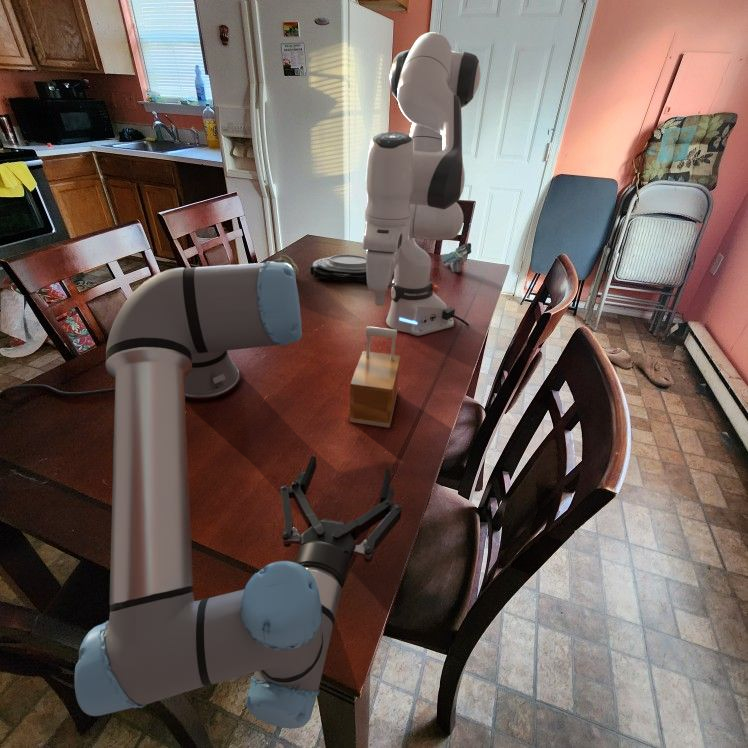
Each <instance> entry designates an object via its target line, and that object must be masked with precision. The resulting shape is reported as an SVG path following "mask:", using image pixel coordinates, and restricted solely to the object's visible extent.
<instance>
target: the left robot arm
mask: <svg viewBox="0 0 748 748" xmlns="http://www.w3.org/2000/svg"><path fill="white" fill-rule="evenodd" d="M273 261H274V260H269V261H266V262H256V263H255V262H254V263H240V264H226V265H210V266H209V265H208V266H195V267H175V268H170V269H166V270H164V271H162V272H161V271H160V272H159V273H157V274H154V275H152V276H151V277H150V278H148V279H147V280H145V281H144V282H143V283H142V284H140V285H139V286H138V287H137V288H136V289H135V290H133V292H132V293H131V294H130V295H129V297H128V298H127V299H126V300H125V302H124V303H123V305H122V306H121V308H120V309H119V311H118V312H117V315H116V316H115V318H114V320H113V323H112V325H111V328H110V331H109V333H108V334H109V335H108V337H107V342H106V349H105V370H106V371H107V373H108V374H109V375H110V376H112V377H113V378H114V381H115V382H114V387H113V388H105V389H98V390H91V391H90V390H89V391H78V392H77V391H76V392H74V391H73V392H69V391H63V390H59V389H57V388H55V387H54V386H51V385H47V384H38V383H37V384H36V383H35V384H18V385H12V386H8V387H6V388H4V389H3V390H1V391H0V397H2V396H4V395H5V394H6V393H7V392H10V391H13V390H18V389H29V388H30V389H31V388H34V389H35V388H36V389H37V388H39V389H40V388H41V389H47V390H50V391H51V392H54V393H56V394H59V395H61V396H70V397H71V396H72V397H73V396H75V397H76V396H87V395H88V396H89V395H96V394H97V395H98V394H104V393H111V392H112V393H113V392H114V416H113V420H114V421H113V451H112V452H113V453H112V457H113V458H112V489H111V490H112V495H111V496H112V497H111V531H110V532H111V533H110V534H111V535H110V567H109V569H110V570H109V571H110V572H109V573H110V574H109V617H108V618H109V619H108V620H106V621H105V622H103V623H101V624H98V625H96V626H94V627H92V628H91V630H89V631H88V633H87V634H86V635H85V636H84V638H83V640H82V642H81V644H80V647H79V650H78V661H77V663H76V664H75V668H74V690H75V699H76V701H77V703H78V706H79V708H80V710H81V711H82V712H83V713H85V714H86V715H88V716H91V717H99V716H105V715H108V714H112V713H116V712H120V711H125V710H129V709H137V708H139V709H142V708H145V707H146V706H147V705H149V704H152V703H155V702H158V701H163V700H165V699H168V698H173V697H174V696H178V695H181V694H185V693H188V692H191V691H194V690H197V689H201V688H205V687H206V686H207V687H208V686H210V685H216V684H219V683H223V682H227V681H230V680H233V679H236V678H240V677H243V676H247V675H250V674H253V675H252V676H251V677H250V685H249V688H248V691H247V695H246V698H245V705H246V709H247V711H248V713H250V715H252V717H254V718H256V719H257V720H259V721H261V722H263V723H265V724H268V725H271V726H274V727H278V728H282V729H290V730H291V729H292V730H295V729H300V728H302V727H305V726H306V725H307V724H308V723H309V722H310V720H311V717H312V715H313V712H314V708H315V704H316V700H317V697H318V696H319V695H320V691H321V690H320V684H321V681H322V676H323V672H324V668H325V663H326V659H327V655H328V650H329V646H330V643H331V637H332V633H333V629H334V626H335V623H336V618H337V614H338V611H339V606H340V603H341V602H340V601H341V597H342V594H343V587H344V585H345V582H346V577H347V573H348V570H349V565H350V561H351V559H352V558H353V556H354V555H355V556H358V557H360V558H361V557H362V558H363V560H364V562H365V563H371V562H372V560H373V558H374V554H375V552H376V549H377V548H378V547H379V546H380V545H381V543H382V542H383V541H384V539H386V537H387V536H388V535H389V534H390V532H392V530H393V528H394V527H395V526H396V525H397V524H398V523H399V521H400V520H401V519H402V513H403V506H402V505H401V504H395V503H394V502H393V499H394V494H395V493H394V492H395V488H394V486H390V480H391V468H389V467H386V468H385V473H384V478H383V483H382V488H381V493H380V497H379V504H377V505H375V506H374V507H373V508H370V510H368V511H366V513H364V514H362V515H361V516H360V517H358V518H356V519H351V521H349V522H347V523H346V524H345V523H344V521H341V520H332V519H329V518H325V517H324V518H323V519H321V520H320V519H319V518H318V517H317V516H318V515H317V514H316V513H315V512H314V510H313V509H312V507H311V505H310V503H309V501H308V499H307V498H306V495H307V493H308V490H309V487H310V485H311V482H312V479H313V477H314V476H315V475H314V474H315V472H316V470H317V456H314V455H311V457H310V459H309V462H308V464H307V466H306V469H305V471H300V472H299V473H298V475H297V477H296V479H295V480H294V481H292V482H291V486H287V485H282V486H280V497H281V504H282V512H283V513H282V514H283V521H284V525H283V530H282V533H281V535H282V543H283V546H284V547H285V548H289V547H291V546H292V545H300V546H299V548H298V552H297V554H296V556H295V560H294V561H291V560H278V561H274V562H271V563H268V564H267V565H265V566H264V567H263V568H261V569H260V570H258V571H257V572H255V573H254V574H253V575H252V576H251V578H249V580H248V581H247V583H246V585H245V587H244V588H243V589H240V590H235V591H231V592H228V593H224V594H220V595H216V596H212V597H207V598H202V599H199V600H195V597H194V570H193V548H192V547H193V546H192V526H191V523H192V521H191V504H190V503H191V500H190V481H189V480H190V479H189V477H190V476H189V458H188V457H189V456H188V437H187V436H188V435H187V432H188V431H187V411H186V400H188V401H191V402H209V401H213V400H218V399H220V398H223V397H226V396H228V395H229V394H231V393H232V392H233V391H235V390H236V388H237V387H238V386H239V384H240V383H241V376H240V375H241V374H240V371H239V369H238V367H237V365H236V364H235V362H234V360H233V359H232V358H231V356H230V355H229V352H228V351H236V350H245V349H253V348H263V347H271V346H279V347H286V346H287V345H289V344H296V343H298V342H299V341H301V339H302V337H303V328H302V313H301V305H300V297H299V290H298V289H299V288H298V284H297V278H296V277H295V272H294V269H293V267H292V266H291V265H290V264H288V263H277V262H273ZM21 385H22V386H21ZM14 388H16V389H14ZM290 499H293V500H294V502H295V504H296V506H297V508H298V510H299V513H300V514H301V516H302V518H303V520H304V522H305V524H306V526H307V529H306V530H304V531H303V532H302V533H301V534H299V531H298V529H297V528H296V527H295V526H294V519H293V513H292V507H291V501H290ZM379 522H380V523H379ZM378 523H379V524H378ZM376 524H378V525H377V526H376V527H375V528H374V530H373V531H372V532H371V533H370V534H369V536H368V538H367V539H364V540H363V541H362V542H361V543H360V544H356V540H358V539H359V537H360V536H361V535H362V534H363V533H365V532H366V531H368V530H369V529H370V528H372V527H374V526H375V525H376Z"/></svg>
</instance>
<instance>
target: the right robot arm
mask: <svg viewBox="0 0 748 748" xmlns="http://www.w3.org/2000/svg"><path fill="white" fill-rule="evenodd" d="M389 72H390V73H389V84H390V89H391V93H392V95H393V97H394V98H395V99H396V100H397V103H398V107H399V109H400V111H401V112H402V114H403V115H404V117H405V118H406V119H407V120H408V121H409V122H411V127H410V133H409V134H407V133H405V132H399V131H386V132H381V133H378V134H376V135H374V136H373V137H372V138H371V140H370V145H369V149H368V155H367V161H366V162H367V163H366V172H365V173H366V174H365V175H366V176H365V190H366V196H367V203H366V206H365V210H364V235H363V240H362V248H363V249H364V250H366V252H365V257H366V273H367V282H366V285H367V288H368V289H367V290H368V291H370V292H374V297H375V300H374V304H375V305H376V306H381V307H383V306H384V305H385V303H386V293H387V291H388V289H389V288H391V289H390V292H391V293H390V294H391V295H390V297H391V301H390V307H389V310H388V314H387V316H386V318H385V323H386V324H387V326H388V327H389V328H390V329H394V330H397V332H402V333H408V334H411V335H413V336H417V337H420V336H423V335H428V334H431V333H435V332H438V331H443V330H445V329H450V328H453V327H454V326H455V319H456V320H458V321H460V322H461V323H463V324H464V325H465V326H466V327H469V326H470V324H469V323H468V322H467V321H466V320H464V319H463V318H461V317H459V316H457V315H455V313H456V312H455V311H456V308H453V307H452V306H451V307H448V305H447V303H446V302H445V301H444V300H443V299H442V298H441V297H440V296H438V295H437V294H438V293H439V292H440V290H441V289H440V286H438V285H437V284H434V283H433V281H431V280H430V278H431V270H432V259H431V255H429V253H428V252H427V251H425V250H424V249H423V248H422V247H420V246H419V245H418V243H417V242H416V241H415V239H422V240H427V241H428V240H430V241H448V240H449V241H450V240H454V239H455V238H456V237H457V236H458V235H459V234H460V232H461V230H462V229H463V225H464V212H463V210H462V207H461V206H460V204H459V203H458V201H459V200H460V199H461V196H462V194H463V192H464V187H465V181H466V173H465V166H464V162H463V160H464V159H463V120H462V119H463V117H462V116H463V115H462V108H464V107H465V106H468V104H469V103H471V101H472V100H473V99H474V97H475V95H476V93H477V91H478V89H479V86H480V81H481V66H480V60H479V58H478V56H477V55H476V54H473V53H472V52H468V51H463V52H460V51H455V50H453V49H452V46H451V44H450V42H449V41H448V39H447V38H446V37H445V36H444V35H443V34H442V33H439V32H434V31H429V32H426V33H423V34H421V35H420V36H419V37H418V38H417V39H416V40H415V41H414V43H413V45H412V46H411V48H410V49H407V50H403V51H401V52H398V54H397V55H396V56H395V57H394V58H393V61H392V64H391V66H390V71H389ZM436 293H437V294H436Z"/></svg>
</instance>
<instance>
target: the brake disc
mask: <svg viewBox="0 0 748 748" xmlns="http://www.w3.org/2000/svg"><path fill="white" fill-rule="evenodd" d="M310 275H311V276H313V277H314V278H318V279H322V278H323V279H327V280H332V281H333V280H334V281H339V282H340V281H341V282H355V283H356V282H359V283H360V282H364V283H367V273H366V256H362V255H357V254H335V255H332V256H330V257H329V256H328V257H323V258H319V259H316V260H314V261H313V263H312V265H310Z"/></svg>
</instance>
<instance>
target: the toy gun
mask: <svg viewBox="0 0 748 748" xmlns="http://www.w3.org/2000/svg"><path fill="white" fill-rule="evenodd" d="M470 254H472V244H471V242H468V243H464V244H462V245H460V246H459V247H456V248H455V250H453V251H451V252H449V253H443V254H441V263H442V264H443V265H444V267H450V269H451V271H452V273H461V271H462V264H463V263H466V262H467V261H468V257H469V255H470Z"/></svg>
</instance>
